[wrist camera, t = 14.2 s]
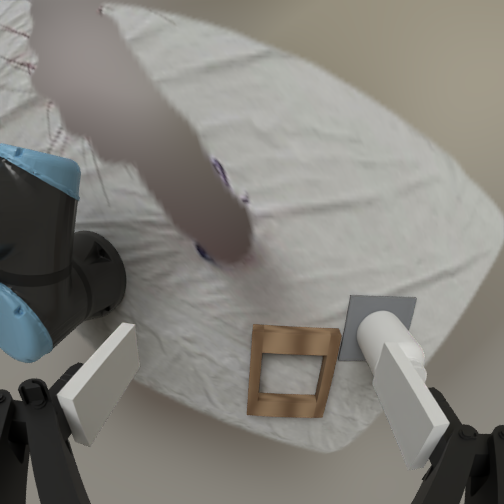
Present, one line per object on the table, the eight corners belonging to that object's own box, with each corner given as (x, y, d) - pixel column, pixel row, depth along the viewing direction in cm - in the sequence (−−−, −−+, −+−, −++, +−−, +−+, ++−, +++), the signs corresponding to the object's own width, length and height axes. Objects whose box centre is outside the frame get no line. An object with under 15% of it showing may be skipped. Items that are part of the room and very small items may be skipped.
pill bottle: (358, 356, 49) (383, 412, 35) (352, 317, 48) (380, 368, 33) (400, 343, 48) (435, 393, 34) (396, 303, 47) (437, 348, 32)
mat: (338, 358, 50) (338, 360, 50) (350, 294, 47) (351, 296, 47) (399, 357, 50) (400, 359, 49) (415, 297, 47) (416, 298, 46)
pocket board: (247, 406, 54) (246, 414, 51) (253, 324, 49) (252, 331, 47) (320, 409, 53) (322, 417, 51) (338, 328, 49) (341, 335, 46)
